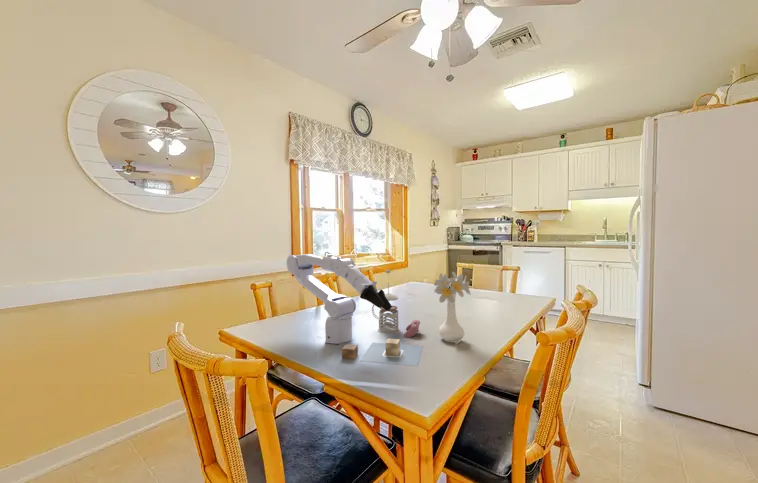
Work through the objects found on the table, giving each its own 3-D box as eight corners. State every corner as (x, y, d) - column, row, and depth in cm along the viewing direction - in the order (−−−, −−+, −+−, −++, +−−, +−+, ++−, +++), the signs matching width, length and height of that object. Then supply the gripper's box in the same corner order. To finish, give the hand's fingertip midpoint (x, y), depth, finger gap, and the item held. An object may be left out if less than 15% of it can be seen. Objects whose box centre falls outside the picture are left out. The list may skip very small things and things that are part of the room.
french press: (399, 335, 121) (398, 271, 120) (370, 334, 123) (369, 271, 122) (402, 327, 130) (401, 268, 129) (375, 326, 132) (374, 268, 131)
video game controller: (413, 343, 116) (421, 327, 115) (402, 337, 117) (410, 321, 116) (415, 335, 126) (423, 320, 125) (405, 329, 127) (412, 314, 126)
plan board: (359, 363, 96) (359, 360, 96) (372, 344, 111) (372, 342, 111) (417, 368, 92) (417, 365, 92) (422, 348, 107) (422, 345, 107)
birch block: (385, 355, 100) (385, 342, 100) (388, 350, 104) (387, 338, 104) (397, 356, 99) (397, 343, 99) (399, 351, 103) (399, 339, 103)
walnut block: (342, 361, 98) (341, 348, 98) (346, 356, 102) (346, 344, 102) (354, 362, 97) (353, 349, 97) (357, 357, 101) (357, 344, 101)
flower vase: (432, 350, 105) (431, 277, 105) (435, 332, 123) (435, 270, 122) (472, 353, 102) (471, 277, 101) (470, 334, 120) (469, 270, 119)
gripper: (357, 268, 103) (385, 294, 97) (374, 277, 116) (400, 301, 109) (344, 284, 103) (371, 311, 97) (362, 292, 116) (387, 316, 109)
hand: (385, 307), depth 103 cm, fingers open, 7 cm apart
